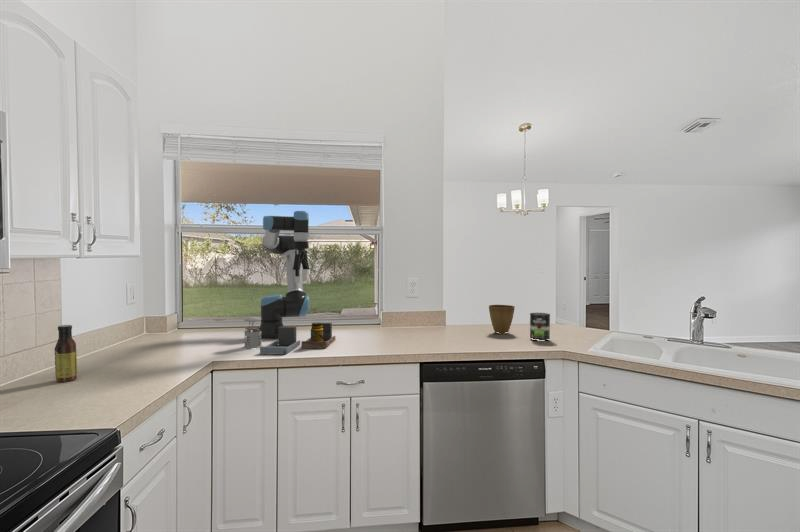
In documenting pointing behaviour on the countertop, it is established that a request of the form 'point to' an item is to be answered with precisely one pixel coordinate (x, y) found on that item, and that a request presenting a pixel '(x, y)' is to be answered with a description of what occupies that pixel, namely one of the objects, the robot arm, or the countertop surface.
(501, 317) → the plant pot
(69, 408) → the countertop surface
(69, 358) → the sauce bottle
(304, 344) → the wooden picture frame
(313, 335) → the condiment
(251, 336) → the french press
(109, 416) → the countertop surface
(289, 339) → the grey frame
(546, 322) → the coffee can
